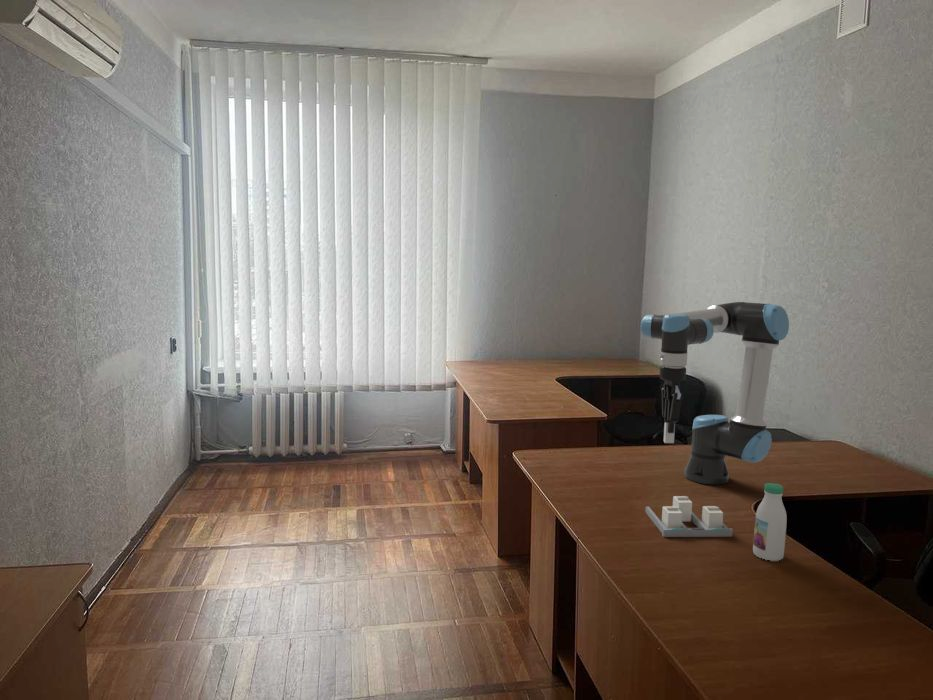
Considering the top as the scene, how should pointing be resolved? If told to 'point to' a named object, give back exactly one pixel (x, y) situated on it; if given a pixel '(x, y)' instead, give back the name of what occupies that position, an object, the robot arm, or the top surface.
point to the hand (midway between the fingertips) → (668, 442)
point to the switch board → (690, 532)
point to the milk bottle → (770, 525)
